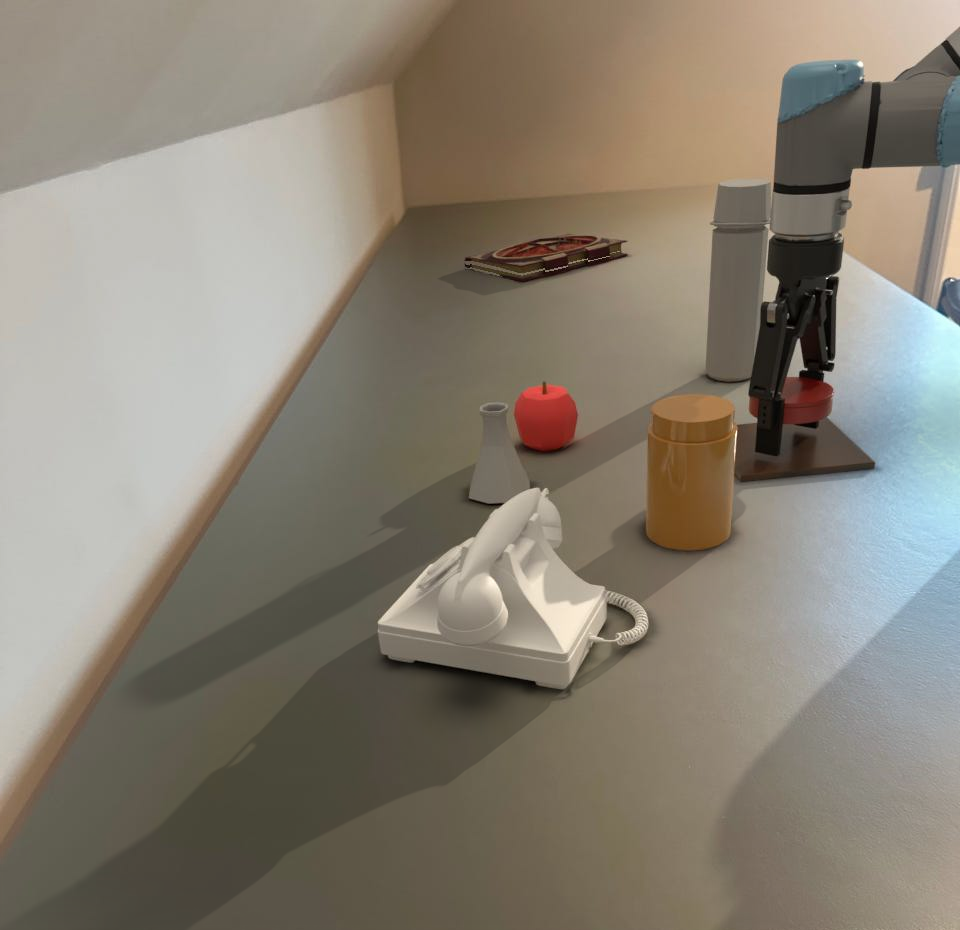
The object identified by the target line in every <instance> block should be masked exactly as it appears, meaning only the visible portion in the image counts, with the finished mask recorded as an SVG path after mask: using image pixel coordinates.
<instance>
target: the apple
mask: <svg viewBox="0 0 960 930" xmlns="http://www.w3.org/2000/svg"><path fill="white" fill-rule="evenodd" d="M576 404H577V403H576V401H575V400H574V399H573V398H572V396H571V395H570V394H569V392H568V390H567V389H566V388H565V386H560V385H552V384H547V381H545V380H543V381H542V385H536V386H531V387H529V388H527V389H525V390H523V391H522V392H521V393H520V395H519V397H518V398H517V399H516V401H515V404H514V410H513V417H514V420H515V421H514V422H515V424H516V429H517V432H518V436H519V439H520V441H521V442H522V444H523V445H525V446H527V447H528V448H530V449H532V450H535V451H540V452H543V453H544V452H549V451H555V450H559V449H560V448H563V447H564V446H566V445H567V444H568V443H569V442H571V441H572V440H573V439H574V438H575V435H576V428H577V424H578V423H577V422H578V416H579V413H578V409H577V405H576Z"/></svg>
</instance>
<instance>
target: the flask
mask: <svg viewBox="0 0 960 930" xmlns="http://www.w3.org/2000/svg"><path fill="white" fill-rule="evenodd" d="M508 411H509V404H508V403H504V402H497V401H496V402H487V403H484V404H482V405H481V406H479V415H480V416H481V417H482V440H481V443H480V448H479V451H478V457H477V460H476V464H475V467H474V471H473V475H472V478H471V480H470V481H471V482H470V485H469V493H468V499H471V500H473V501H477V502H481V503H485V504H488V505H489V504H505V503H506V502H507V501H509V500H510V499H512V498H513V497H515V496H516V495H518V494H520V493H522V492H524V491H526V490H529V489H531V481H530V479H529V477H528V474H527V473H526V470H525V468H524V465H523V464H522V462H521V460H520V457H519V456H518V453H517V450H516V447H515V446H514V443H513V441H512V438H511V435H510V434H511V433H510V431H509V428H508V422H507V421H508V420H507V414H508V413H509V412H508Z"/></svg>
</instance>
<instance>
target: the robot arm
mask: <svg viewBox="0 0 960 930" xmlns="http://www.w3.org/2000/svg"><path fill="white" fill-rule="evenodd" d="M864 66H865V65H864V63H863V61H861V60H859V59H831V60H818V61H817V60H815V61H807V62H802V63H796V64H795V65H793V66H791V67H790V68H788V70H787V71H786V72H785V73H784V75H783V77H782V81H781V89H780V90H781V91H780V99H779V105H778V106H779V107H778V115H777V119H776V120H777V121H776V138H775V153H774V168H773V169H774V170H773V186H772V193H771V216H770V219H769V220H770V224H769V227H768V229H769V231H770V232H772V233H773V235H772V236H771V237H770V238H769V239H768V245H767V259H766V271H767V273H768V274H769V276H772V277H775V278H776V279H777V280H778V286H777V290H776V293H775V298H774V300H773V301H764V300H763V303H762V305H761V309H760V329H759V335H758V340H757V346H756V352H755V357H754V363H753V369H752V375H751V377H750V380H749V381H750V382H749V386H748V392H747V394H748V397H749V398H750V397H753V398H758V399H759V405H758V418H756V420H757V421H756V423H757V431H756V444H755V452H757V453H762V454H767V455H772V456H776V457H777V456H778V455H780V449H781V438H782V427H783V417H784V406H785V398H781V395H782V391H783V388H784V384H785V381H786V377H788V373H789V370H790V367H791V363H792V360H793V357H794V354H795V350H796V347H797V342H798V340H799V344H800V352H801V358H802V364H803V368H804V369H801V370H800V371H798V377H804V378H811V379H816V380H820V381H823V382H825V381H824V380H825V372H828V373H833V370H834V368H835V362H833V361H835V358H836V351H837V350H836V349H837V348H836V346H837V296H838V290H839V285H840V277H839V276H837V275H836V274H838V273H839V272H840V271H841V270H842V263H843V256H844V255H843V253H844V245H845V237H844V235H843V234H842V233H840V232H842V231H843V230H844V229H845V228H846V224H847V215H848V211H850V210H851V209H852V206H853V202H852V200H850V199H849V197H850V189H851V184H852V174H853V171H854V170H857V169H861V170H869V169H874V168H875V169H877V168H878V169H879V168H916V167H920V168H921V167H941V168H943V169H946V168H949V167H951V166H959V165H960V26H958V28H956V29H955V30H954V31H953V32H952V33H950V34H949V35H947V37H945V40H943V41H942V42H941V43H940V44H939V45H937V46H936V47H935V48H933V49H932V50H931V51H930V52H929V53H927V54H926V55H925V56H924V57H922V59H920V60H919V61H918V62H917V63H916V64H915V65H913V66H911V67H909V68H906V69H905V70H903V71H902V72H900V73H899V74H898V75H897V76H896V77H895V78H894V79H893V80H892V81H872V80H867V81H866V80H865V79H866V76H865V75H864V71H865V69H864V68H865V67H864ZM806 369H807V370H806ZM794 425H797V426H802V427H808V428H813V429H816V428H818V426H819V421H815V422H811V423H804V424H794Z"/></svg>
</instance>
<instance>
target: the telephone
mask: <svg viewBox="0 0 960 930" xmlns="http://www.w3.org/2000/svg"><path fill="white" fill-rule="evenodd" d="M547 495H550V490H549V488H547V487H545V488H544V489H542V491H541V488H540V487H533V488H530V489H529V490H526V491H524V492H522V493H520V494H518V495H516V496H515V497H513V498H512V499H510V500H509V501H507V502H506V503H502V505H500V507H498V508H495V509H494V510H493V511H492V512H491V513H490V514H489V516H488V519H487V520H486V521H485V523H484V524H482V526H481V528H480V529H479V531H478V532H477V534H476V536H475V537H474V536H472V537H470V538H467V540H465V541H463V542H462V543H460V544H459V545H455V546H453V547H452V548H450V549H449V550H448V551H446V552H445V553H444V554H443V555H442V556H440V557H439V558H438V559H437V560H436V561H435V562H433V563H430V564H429V565H428V566H427V567H426V568H425V569H424V570H423V571H422V572H421V573H420V575H419V576H418V577H417V578H416V579H415V580H414V581H413V582H412V583H411V584H410V586H409V587H407V589H406V590H405V591H404V592H403V593H402V594H401V595H400V596H399V597H398V599H396V601H395V602H394V603H393V604H392V605H391V606H390V607H389V608H388V610H386V612H385V613H384V614H383V615H382V616H381V617H380V618H379V619H378V620H377V627H378V628H377V636H378V643H379V649H380V653H381V654H382V655H385V656H387V658H388V659H390V660H393V661H397V662H405V663H408V664H409V663H410V664H411V663H412V664H413V663H414V662H415V661H417V662H424V663H429V664H435V665H441V666H446V667H452V668H458V669H463V670H468V671H469V670H470V671H475V672H481V673H485V674H486V673H487V674H491V675H498V676H504V677H510V678H516V679H520V680H527V681H532V682H535V684H536V685H537V686H539V687H545V688H550V689H555V690H564V689H566V688H567V687H568V685H570V684H571V683H572V681H573V679H574V678H575V676H576V674H577V672H578V671H579V668H580V667H581V665H582V663H583V661H584V660H585V658H586V657H587V654H588V653H589V652H590V648H592V647H593V644H594V643H599V644H600V643H601V644H602V643H615V642H616V644H617V645H618V646H621V647H622V646H628V645H632V644H634V643H636V642H638V641H640V640H642V639H643V637H644V636H645V635H646V634H647V632H648V629H649V618H648V617H649V616H648V613H647V612H646V610H645V609H644V608H643V607H642V606H641V605H640V604H639V603H638V602H637V601H635V600H634V599H632V598H630V597H629V596H625V595H624V594H621V593H617V592H614V591H611V590H607V589H606V587H605V586H604V585H597V584H590V583H589V582H587V581H585V580H584V579H582V578H580V577H579V575H577V574H575V573H574V571H572V570H571V568H569V566H567V565H566V563H564V562H563V560H562V559H561V558H560V557H559V556H558V555H557V553H556V551H555V549H558V548H559V547H560V546H561V545H562V542H563V527H562V520H561V515H560V513H559V509H558V508H557V507H556V505H555V504H554V503H553V502H552V501H551V500H549V497H548V496H547ZM608 604H610V605H612V606H616V607H619V608H621V609H623V610H624V611H626V612H628V613H629V614H630V615H631V616H632V617H633V619H634V621H635V622H634V623H635V624H634V627H633V628H631V629H629V630H626V631H621V632H616V633H615V635H614V638H615V639H604V638H603V637H599V636H598V635H599V633H600V631H601V630H602V628H603V626H604V624H605V622H606V621H607V618H608V613H607V612H608V611H607V610H608V606H607V605H608Z"/></svg>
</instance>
